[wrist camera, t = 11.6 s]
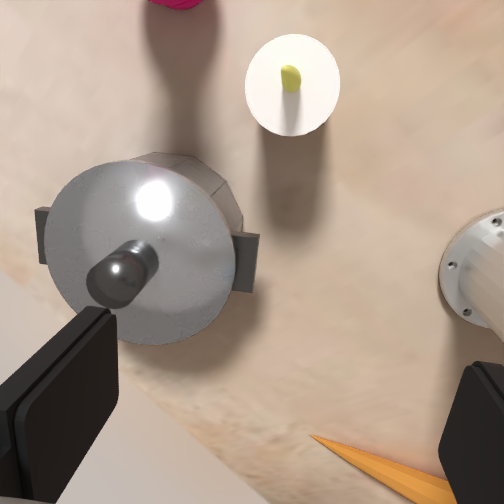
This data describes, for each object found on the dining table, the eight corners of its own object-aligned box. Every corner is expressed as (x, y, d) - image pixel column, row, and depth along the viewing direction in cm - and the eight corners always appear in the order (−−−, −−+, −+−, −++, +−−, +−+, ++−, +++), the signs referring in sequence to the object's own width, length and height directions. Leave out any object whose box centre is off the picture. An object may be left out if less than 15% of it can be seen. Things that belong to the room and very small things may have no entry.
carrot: (458, 480, 50) (477, 500, 46) (444, 513, 50) (462, 537, 45) (313, 411, 51) (318, 424, 47) (299, 443, 51) (302, 459, 47)
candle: (283, 144, 38) (275, 165, 24) (245, 83, 36) (213, 65, 22) (342, 106, 36) (371, 103, 22) (305, 39, 35) (311, -9, 21)
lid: (243, 165, 31) (228, 181, 24) (234, 339, 37) (219, 393, 30) (51, 150, 33) (-17, 161, 26) (70, 320, 38) (19, 368, 31)
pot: (271, 165, 39) (264, 181, 30) (255, 300, 44) (246, 346, 35) (80, 143, 40) (21, 152, 31) (86, 277, 45) (38, 316, 36)
